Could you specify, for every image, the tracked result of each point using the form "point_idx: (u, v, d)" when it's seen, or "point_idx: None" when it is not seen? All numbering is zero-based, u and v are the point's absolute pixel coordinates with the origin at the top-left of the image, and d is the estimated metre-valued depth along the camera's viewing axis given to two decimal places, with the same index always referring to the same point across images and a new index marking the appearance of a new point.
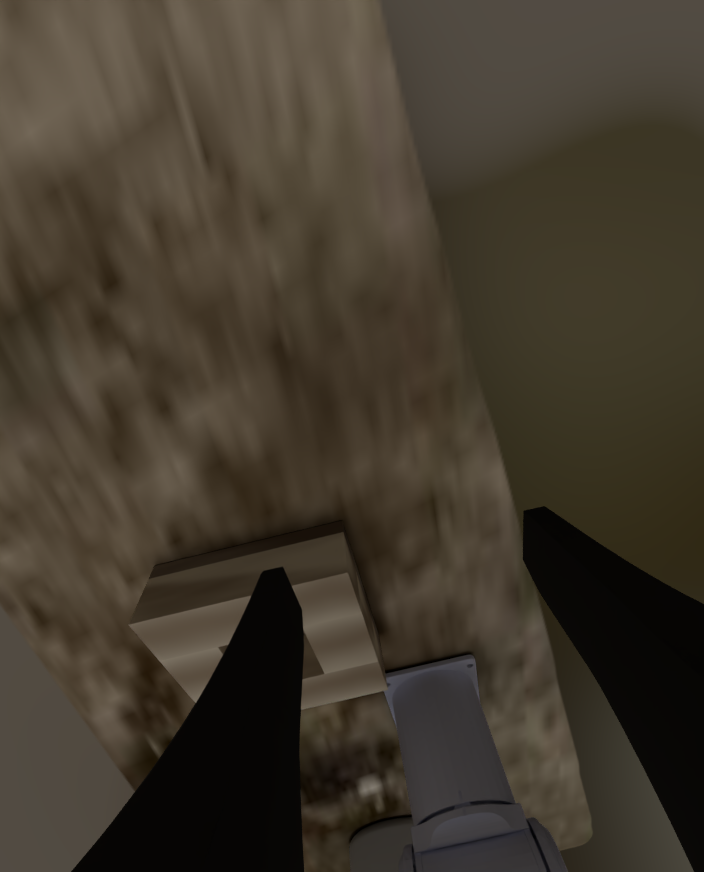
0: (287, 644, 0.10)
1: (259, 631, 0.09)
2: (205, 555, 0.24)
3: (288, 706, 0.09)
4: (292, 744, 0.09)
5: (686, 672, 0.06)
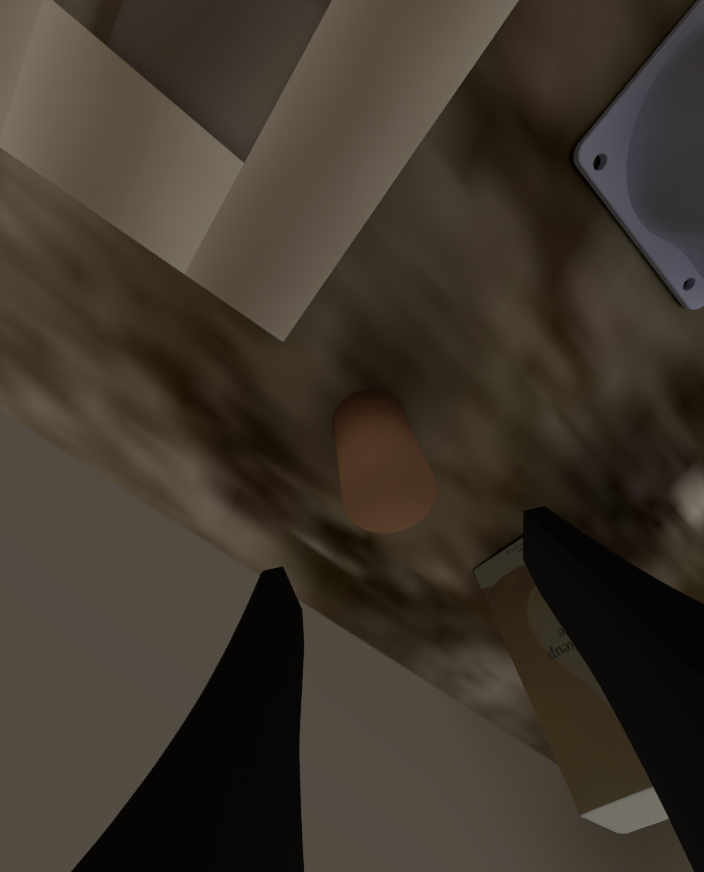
0: (287, 644, 0.10)
1: (259, 631, 0.09)
2: None
3: (288, 706, 0.09)
4: (292, 744, 0.09)
5: (685, 672, 0.06)
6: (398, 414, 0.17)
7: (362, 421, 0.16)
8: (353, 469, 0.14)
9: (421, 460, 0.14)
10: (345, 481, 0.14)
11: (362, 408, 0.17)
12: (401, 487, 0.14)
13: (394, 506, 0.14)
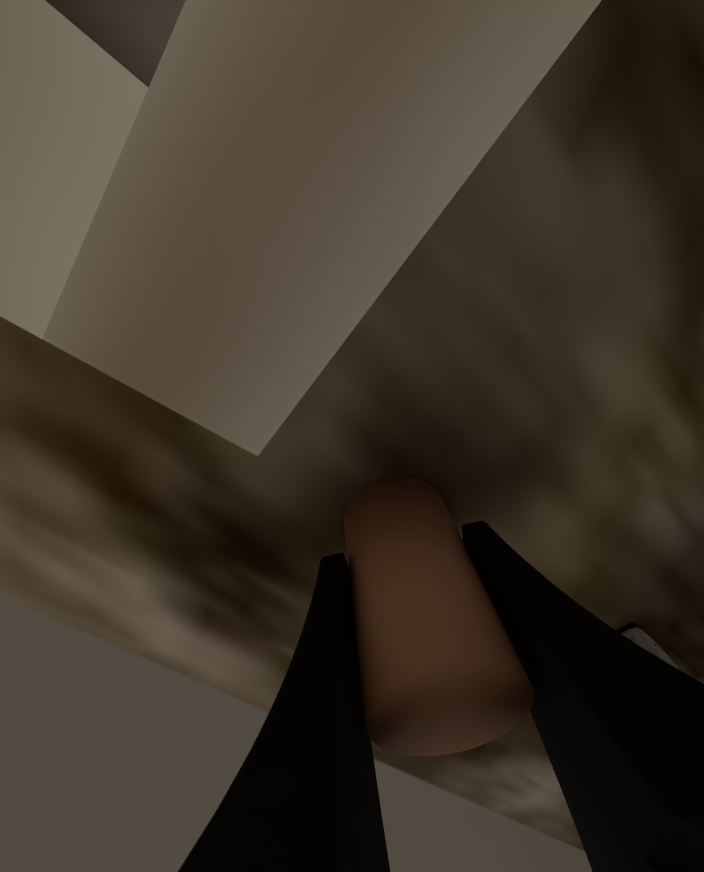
0: (354, 629, 0.10)
1: (334, 614, 0.09)
2: None
3: (360, 690, 0.09)
4: (366, 728, 0.09)
5: (576, 696, 0.06)
6: (448, 529, 0.11)
7: (394, 553, 0.10)
8: (387, 677, 0.07)
9: (510, 659, 0.08)
10: (372, 694, 0.08)
11: (391, 518, 0.11)
12: (471, 702, 0.08)
13: (455, 725, 0.08)
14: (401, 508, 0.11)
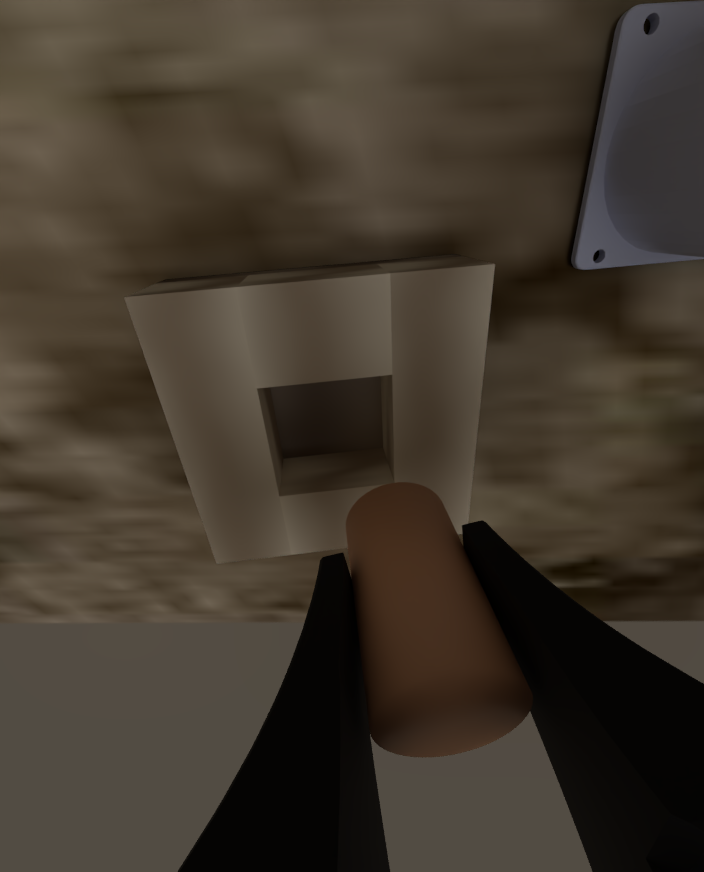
0: (353, 629, 0.10)
1: (334, 614, 0.09)
2: None
3: (359, 690, 0.09)
4: (365, 728, 0.09)
5: (576, 696, 0.06)
6: (442, 532, 0.11)
7: (388, 562, 0.10)
8: (382, 686, 0.08)
9: (501, 660, 0.08)
10: (371, 703, 0.08)
11: (385, 527, 0.11)
12: (469, 704, 0.08)
13: (458, 727, 0.08)
14: (395, 515, 0.11)
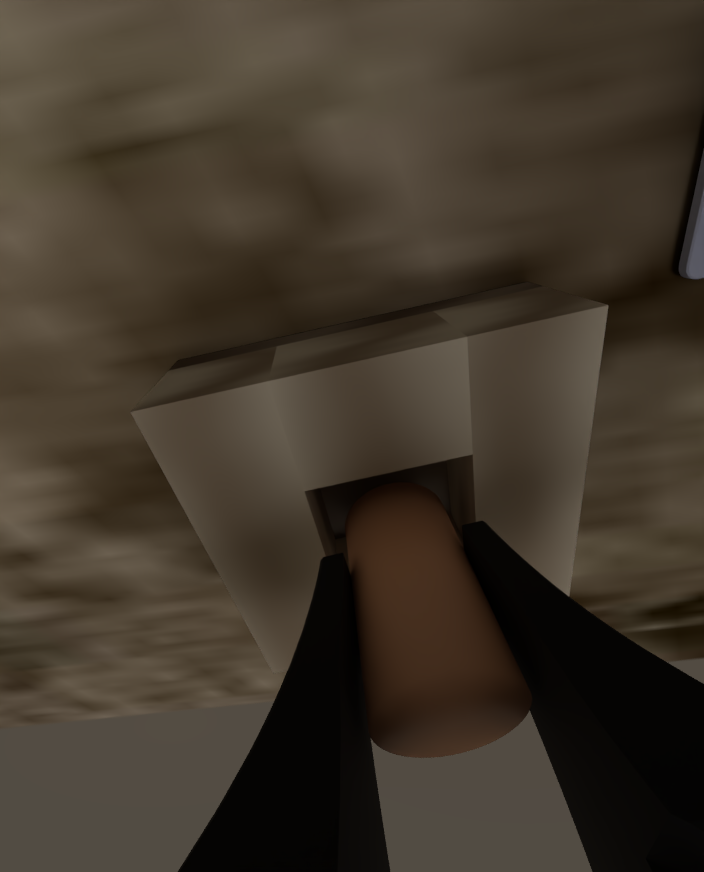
0: (354, 629, 0.10)
1: (334, 614, 0.09)
2: None
3: (360, 690, 0.09)
4: (366, 728, 0.09)
5: (576, 696, 0.06)
6: (441, 532, 0.11)
7: (387, 562, 0.10)
8: (381, 687, 0.08)
9: (500, 661, 0.08)
10: (370, 704, 0.08)
11: (384, 527, 0.11)
12: (467, 705, 0.08)
13: (457, 727, 0.08)
14: (394, 516, 0.11)
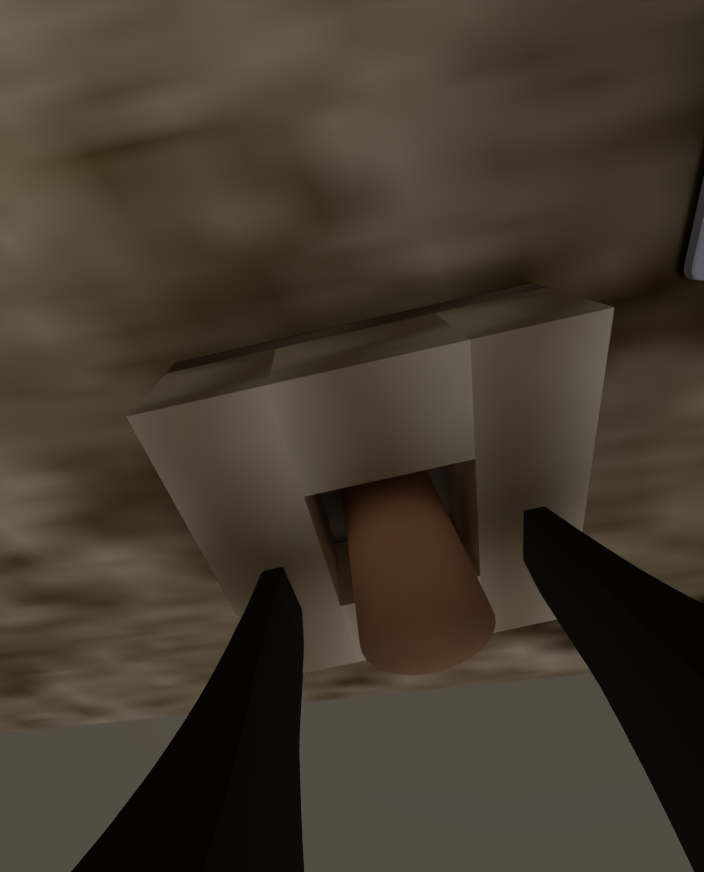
0: (287, 644, 0.10)
1: (259, 631, 0.09)
2: None
3: (288, 706, 0.09)
4: (292, 744, 0.09)
5: (686, 672, 0.06)
6: (425, 491, 0.12)
7: (377, 514, 0.12)
8: (370, 607, 0.09)
9: (468, 585, 0.09)
10: (361, 622, 0.10)
11: (375, 487, 0.13)
12: (442, 622, 0.10)
13: (434, 645, 0.10)
14: None
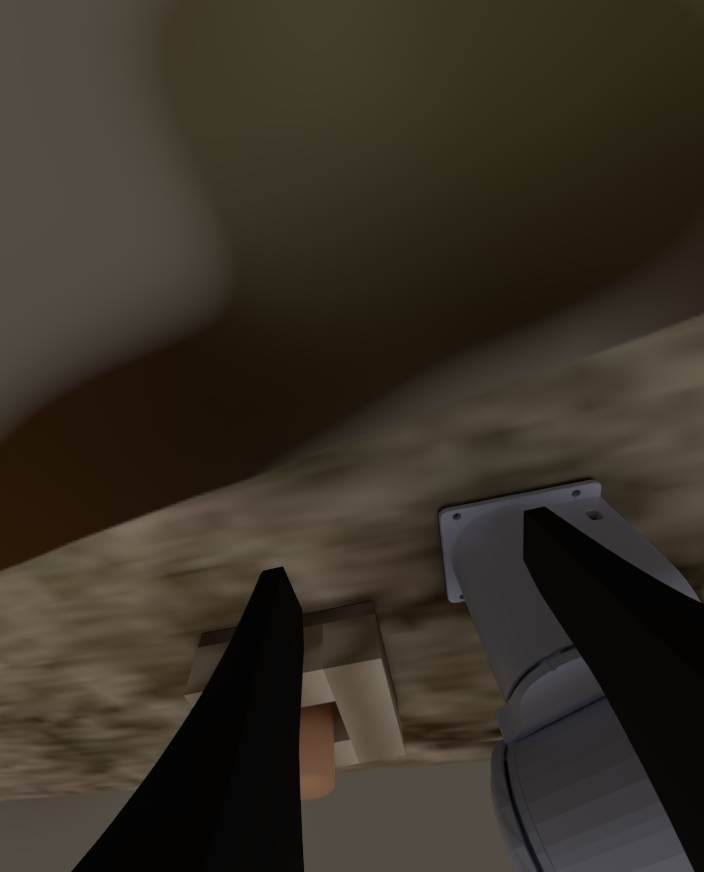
0: (287, 644, 0.10)
1: (259, 631, 0.09)
2: None
3: (288, 706, 0.09)
4: (292, 744, 0.09)
5: (686, 672, 0.06)
6: None
7: None
8: None
9: (320, 768, 0.23)
10: None
11: None
12: (310, 782, 0.23)
13: (309, 790, 0.23)
14: None
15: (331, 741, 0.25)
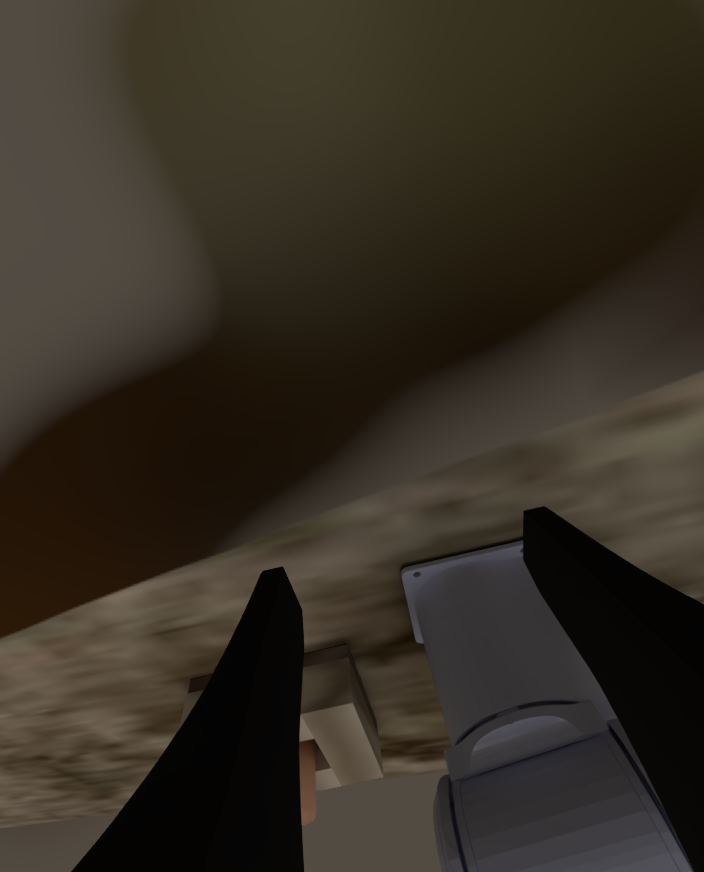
0: (287, 644, 0.10)
1: (259, 631, 0.09)
2: None
3: (288, 706, 0.09)
4: (292, 744, 0.09)
5: (686, 672, 0.06)
6: None
7: None
8: None
9: (302, 803, 0.25)
10: None
11: None
12: None
13: None
14: None
15: (312, 774, 0.27)
